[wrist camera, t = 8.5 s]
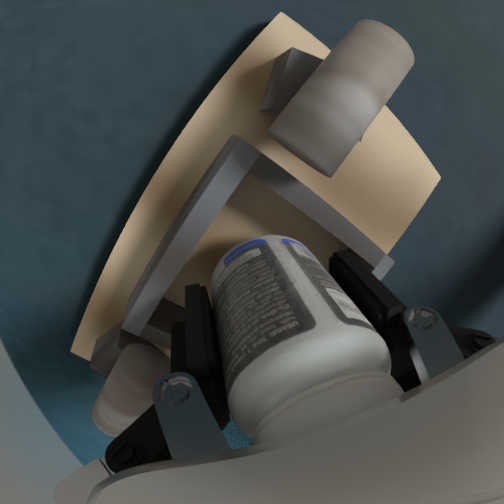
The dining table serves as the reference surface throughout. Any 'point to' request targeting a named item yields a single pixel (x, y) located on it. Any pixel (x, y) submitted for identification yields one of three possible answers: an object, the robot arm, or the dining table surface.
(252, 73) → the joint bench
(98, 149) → the dining table surface
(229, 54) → the dining table surface
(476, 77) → the dining table surface
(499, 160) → the dining table surface
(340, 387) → the pill bottle
